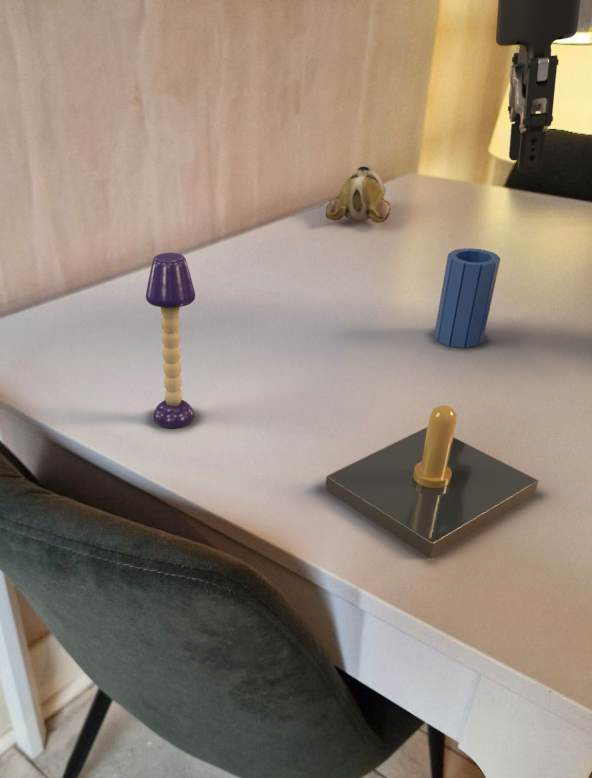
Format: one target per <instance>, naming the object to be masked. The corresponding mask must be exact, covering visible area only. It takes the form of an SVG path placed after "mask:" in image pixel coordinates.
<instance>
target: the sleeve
mask: <svg viewBox="0 0 592 778" xmlns="http://www.w3.org/2000/svg"><path fill="white" fill-rule="evenodd" d="M500 262H501V257H500V256H499V255H498V254H497V253H496V252H493V251H489V250H486V249H481V248H470V247H469V248H466V247H465V248H458V249H454V250H451V251H450V252H449V253H448V254H447V259H446V263H445V269H444V276H443V280H442V287H441V292H440V299H439V305H438V311H437V316H436V321H435V322H436V323H435V328H434V334H433V336H434V338H435V340H436V341H437V342H438V343H440V344H442V345H445V346H447V347H452V348H460V349H461V348H462V349H464V348H466V349H468V348H472V347H473V348H474V347H478V346H479V345H480V344H481V343H482V342H483V341H484V337H485V334H486V333H485V332H486V328H487V323H488V319H489V314H490V309H491V304H492V301H493V296H494V292H495V286H496V281H497V278H498V273H499V267H500Z"/></svg>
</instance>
